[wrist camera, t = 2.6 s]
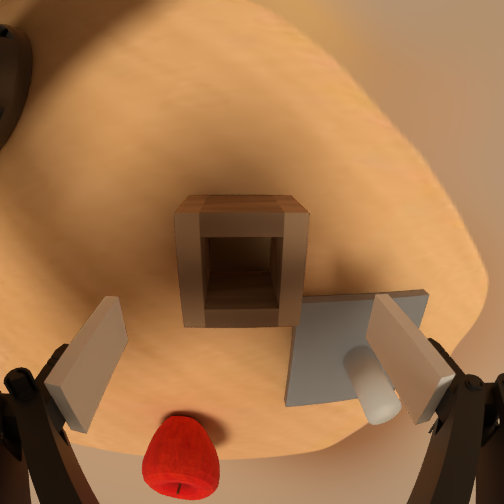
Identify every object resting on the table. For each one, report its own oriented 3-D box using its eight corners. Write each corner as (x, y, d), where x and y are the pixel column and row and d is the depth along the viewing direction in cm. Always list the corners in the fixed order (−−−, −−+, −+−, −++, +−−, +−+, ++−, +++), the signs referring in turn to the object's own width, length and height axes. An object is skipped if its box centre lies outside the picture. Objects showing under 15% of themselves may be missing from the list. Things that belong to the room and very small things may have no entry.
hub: (189, 195, 22) (173, 213, 17) (291, 195, 23) (309, 213, 17) (193, 287, 25) (184, 327, 20) (286, 286, 26) (299, 325, 20)
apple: (234, 429, 33) (236, 500, 23) (185, 446, 34) (179, 509, 24) (188, 394, 30) (178, 474, 20) (139, 414, 31) (122, 483, 21)
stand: (296, 296, 26) (321, 365, 18) (423, 289, 27) (474, 338, 18) (284, 399, 31) (296, 464, 23) (390, 385, 32) (418, 437, 23)
